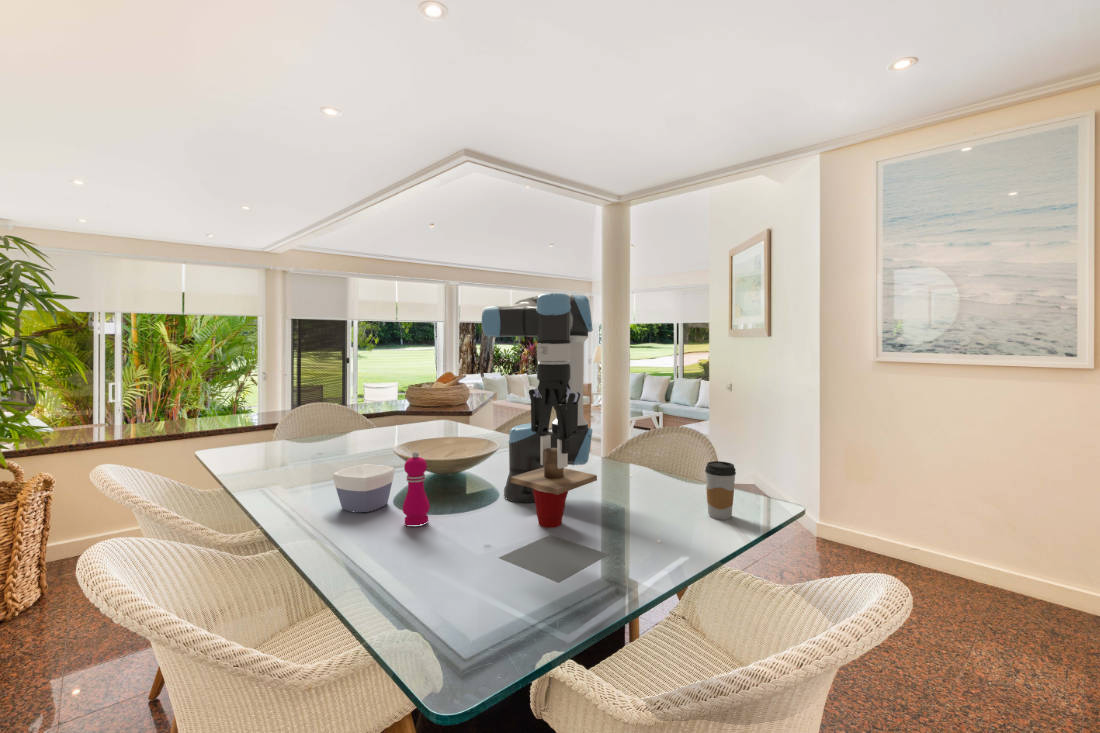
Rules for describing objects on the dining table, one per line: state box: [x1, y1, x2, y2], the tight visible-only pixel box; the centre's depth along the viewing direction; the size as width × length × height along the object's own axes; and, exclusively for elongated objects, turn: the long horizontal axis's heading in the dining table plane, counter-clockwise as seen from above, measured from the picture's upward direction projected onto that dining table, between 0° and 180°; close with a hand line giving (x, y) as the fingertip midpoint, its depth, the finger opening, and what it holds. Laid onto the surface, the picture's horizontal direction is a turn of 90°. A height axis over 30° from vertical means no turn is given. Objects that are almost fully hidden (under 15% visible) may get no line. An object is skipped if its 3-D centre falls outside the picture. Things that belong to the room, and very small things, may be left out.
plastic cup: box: [532, 488, 569, 529], centre depth 136 cm, size 11×11×12 cm
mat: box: [498, 534, 609, 583], centre depth 116 cm, size 18×18×1 cm
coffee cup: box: [704, 460, 737, 521], centre depth 144 cm, size 8×8×15 cm
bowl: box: [332, 464, 396, 513], centre depth 154 cm, size 15×15×11 cm
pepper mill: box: [402, 451, 431, 526], centre depth 139 cm, size 7×7×20 cm
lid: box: [510, 448, 598, 495], centre depth 115 cm, size 14×14×7 cm
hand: (553, 465), depth 115 cm, fingers closed on lid, 4 cm apart
